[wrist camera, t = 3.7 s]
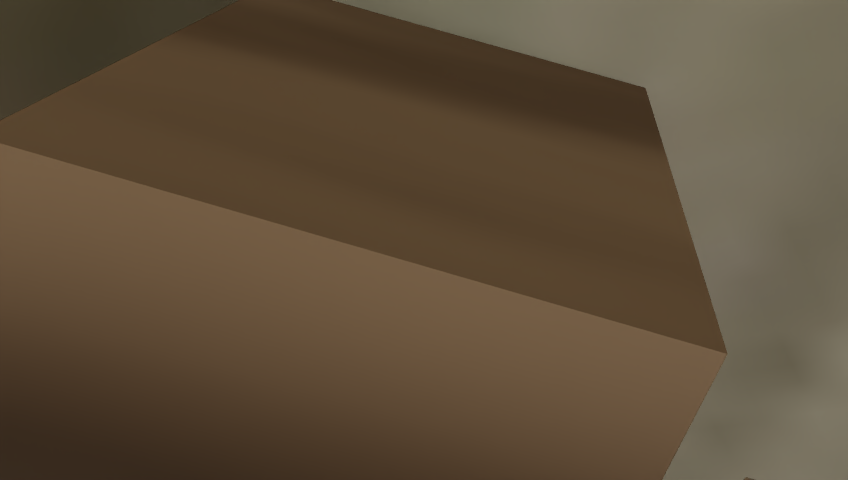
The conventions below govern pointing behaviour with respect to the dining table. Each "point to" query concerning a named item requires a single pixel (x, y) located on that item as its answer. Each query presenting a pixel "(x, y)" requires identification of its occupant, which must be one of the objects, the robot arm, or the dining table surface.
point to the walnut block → (344, 263)
